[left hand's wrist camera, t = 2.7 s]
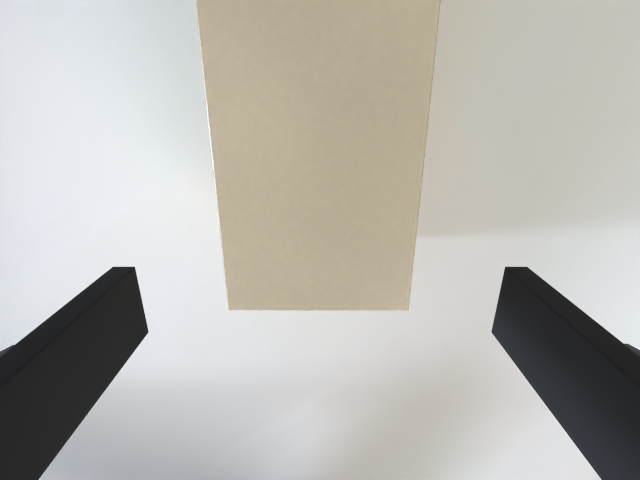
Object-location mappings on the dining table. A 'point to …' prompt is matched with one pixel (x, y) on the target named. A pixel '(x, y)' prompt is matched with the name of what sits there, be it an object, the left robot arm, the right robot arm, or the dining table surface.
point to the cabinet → (318, 147)
